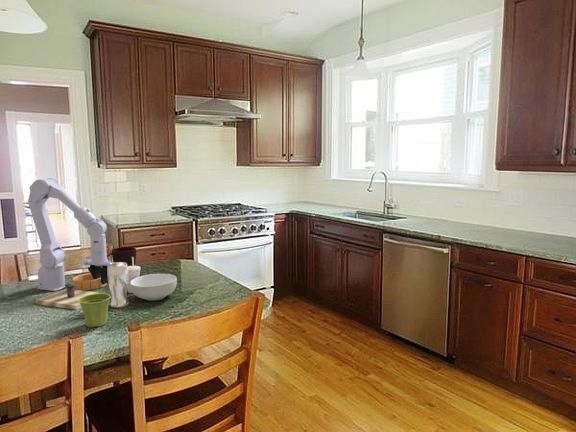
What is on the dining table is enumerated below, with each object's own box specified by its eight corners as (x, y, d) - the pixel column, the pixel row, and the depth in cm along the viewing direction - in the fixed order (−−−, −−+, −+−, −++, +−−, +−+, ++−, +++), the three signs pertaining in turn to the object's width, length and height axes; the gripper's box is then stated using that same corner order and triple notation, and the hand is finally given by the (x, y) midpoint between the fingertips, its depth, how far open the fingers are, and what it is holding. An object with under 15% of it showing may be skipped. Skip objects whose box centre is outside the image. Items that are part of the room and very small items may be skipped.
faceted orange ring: (66, 288, 173) (65, 279, 173) (89, 279, 185) (88, 271, 185) (91, 291, 170) (90, 282, 169) (113, 282, 181) (112, 274, 181)
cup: (140, 275, 191) (139, 249, 189) (108, 281, 182) (106, 254, 181) (132, 271, 199) (131, 245, 197) (101, 276, 190) (99, 250, 188)
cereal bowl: (153, 288, 174) (153, 271, 173) (186, 293, 167) (185, 276, 166) (121, 300, 159) (120, 282, 158) (155, 307, 152) (154, 288, 151)
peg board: (36, 303, 155) (35, 287, 154) (67, 292, 169) (66, 276, 168) (76, 309, 150) (74, 292, 149) (104, 297, 163) (103, 281, 162)
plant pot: (73, 326, 135) (71, 300, 134) (97, 316, 144) (95, 291, 142) (95, 331, 131) (93, 304, 130) (118, 321, 140) (117, 295, 139)
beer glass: (117, 309, 150) (115, 267, 148) (105, 305, 154) (102, 265, 152) (134, 303, 156) (131, 263, 154) (121, 300, 160) (119, 260, 157)
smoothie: (136, 294, 166) (134, 259, 164) (121, 293, 167) (119, 258, 165) (144, 289, 172) (143, 255, 170) (130, 288, 173) (128, 254, 171)
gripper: (120, 250, 175) (122, 282, 177) (91, 247, 179) (93, 279, 181) (108, 253, 168) (110, 287, 170) (78, 251, 173) (80, 283, 175)
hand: (100, 283), depth 175 cm, fingers open, 3 cm apart
